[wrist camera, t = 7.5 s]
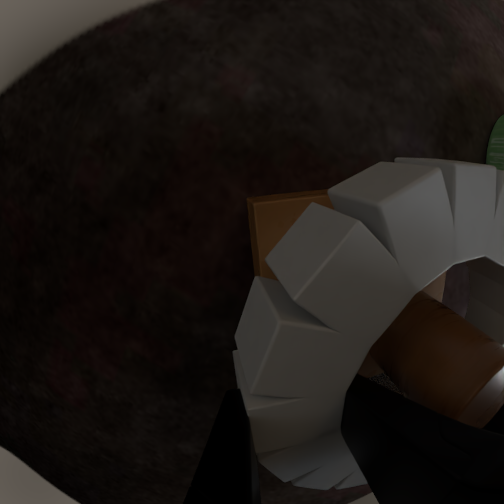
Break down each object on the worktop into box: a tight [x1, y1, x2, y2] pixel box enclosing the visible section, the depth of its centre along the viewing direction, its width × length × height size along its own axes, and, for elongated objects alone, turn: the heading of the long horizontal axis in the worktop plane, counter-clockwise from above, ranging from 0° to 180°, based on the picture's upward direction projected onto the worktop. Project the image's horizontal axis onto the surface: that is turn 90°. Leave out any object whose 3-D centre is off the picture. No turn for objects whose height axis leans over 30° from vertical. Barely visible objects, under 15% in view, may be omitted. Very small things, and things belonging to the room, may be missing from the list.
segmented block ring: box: [233, 157, 504, 490], centre depth 8 cm, size 12×12×2 cm
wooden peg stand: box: [247, 189, 504, 429], centre depth 9 cm, size 9×9×8 cm
